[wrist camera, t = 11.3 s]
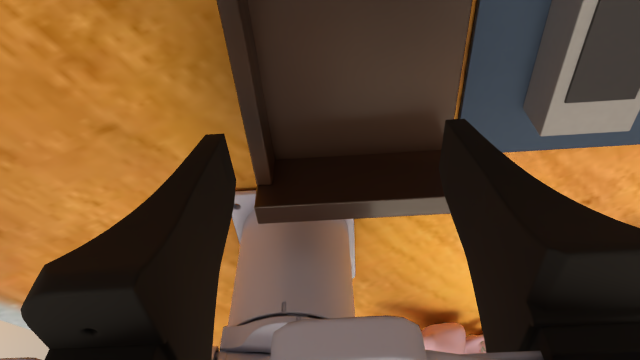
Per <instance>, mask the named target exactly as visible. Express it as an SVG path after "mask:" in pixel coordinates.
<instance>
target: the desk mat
mask: <svg viewBox="0 0 640 360" xmlns="http://www.w3.org/2000/svg"><path fill="white" fill-rule="evenodd" d="M551 2H552V0H477V6H476V12H475V18H474V24H473V30H472V37H471V43H470V49H469V55H468V61H467V67H466V73H465V80H464V86H463V92H462V98H461V104H460V110H459V117H458V119H466V120H467V121H468V122H469V123H470V124H471V125H472V126H473V127H474V128H475V129H476V130H477V131H478V132H480V133H481V134H482V135H483V136H484V137H485V138H486V139H487V140H488V141H489V142H490V143H491V144H493V145H494V146H495V147H496V148H497V149H498V150H499V151H501V152H519V151H535V150H552V149H569V148H586V147H603V146H619V145H636V144H640V110H639V112H638V114H637V116H636V118H635V120H634V123H633V125H632V127H631V129H630V131H621V132H605V133H588V134H572V135H555V136H540V135H539V133H538V132H537V130H536V129H535V127H534V125H533V124H532V122H531V121H530V119H529V117H528V116H527V114H526V113H525V111H524V109H523V106H524V102H525V98H526V94H527V91H528V87H529V83H530V80H531V76H532V72H533V69H534V65H535V61H536V58H537V54H538V50H539V47H540V43H541V39H542V36H543V32H544V28H545V25H546V21H547V17H548V13H549V10H550V6H551Z"/></svg>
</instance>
